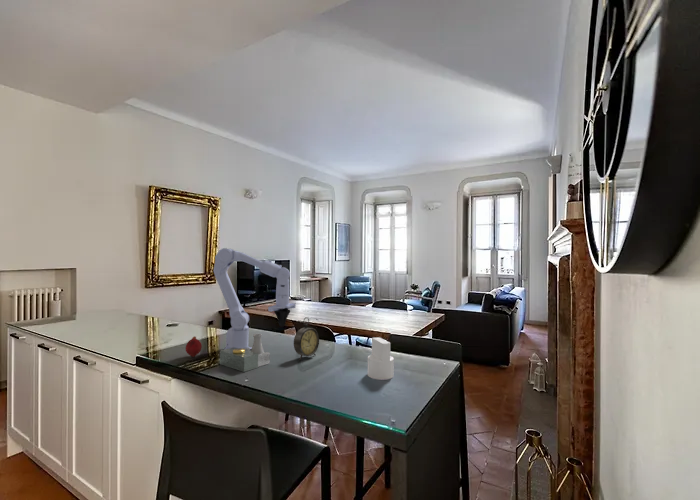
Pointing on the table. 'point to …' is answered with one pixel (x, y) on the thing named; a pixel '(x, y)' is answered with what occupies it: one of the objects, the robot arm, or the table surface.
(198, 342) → the onion
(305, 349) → the alarm clock
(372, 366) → the base with upright slab
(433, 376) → the table surface
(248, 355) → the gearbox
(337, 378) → the table surface
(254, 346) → the flask
